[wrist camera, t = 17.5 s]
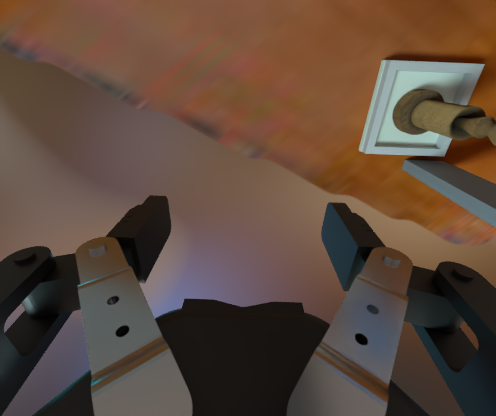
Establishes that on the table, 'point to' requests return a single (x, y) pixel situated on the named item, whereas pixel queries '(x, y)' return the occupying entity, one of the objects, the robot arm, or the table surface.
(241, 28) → the table surface
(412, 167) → the overhang shelf
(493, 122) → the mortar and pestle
